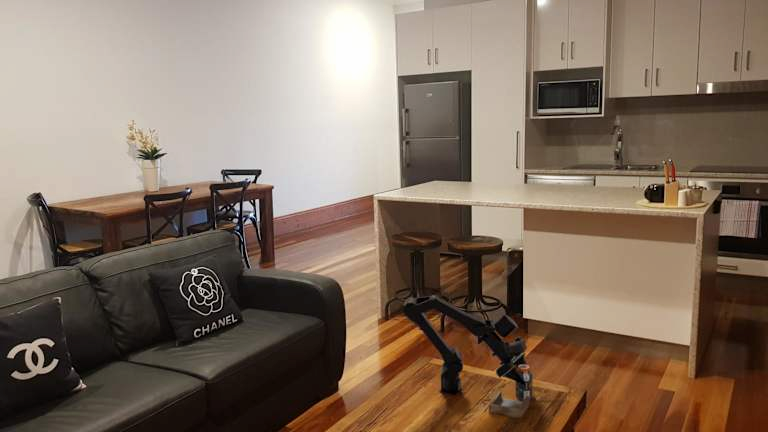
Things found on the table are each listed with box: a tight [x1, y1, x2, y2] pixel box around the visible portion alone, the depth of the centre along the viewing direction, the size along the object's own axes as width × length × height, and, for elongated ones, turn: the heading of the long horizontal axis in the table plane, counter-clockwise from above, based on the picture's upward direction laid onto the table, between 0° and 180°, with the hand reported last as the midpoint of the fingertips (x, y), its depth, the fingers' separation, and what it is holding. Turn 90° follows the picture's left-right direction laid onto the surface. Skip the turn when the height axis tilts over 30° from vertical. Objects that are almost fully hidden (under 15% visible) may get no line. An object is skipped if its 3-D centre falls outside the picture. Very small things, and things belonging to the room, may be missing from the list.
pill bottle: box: [515, 364, 534, 400], centre depth 212 cm, size 6×6×11 cm
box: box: [488, 390, 531, 420], centre depth 205 cm, size 11×11×3 cm
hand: (527, 379), depth 211 cm, fingers open, 7 cm apart
